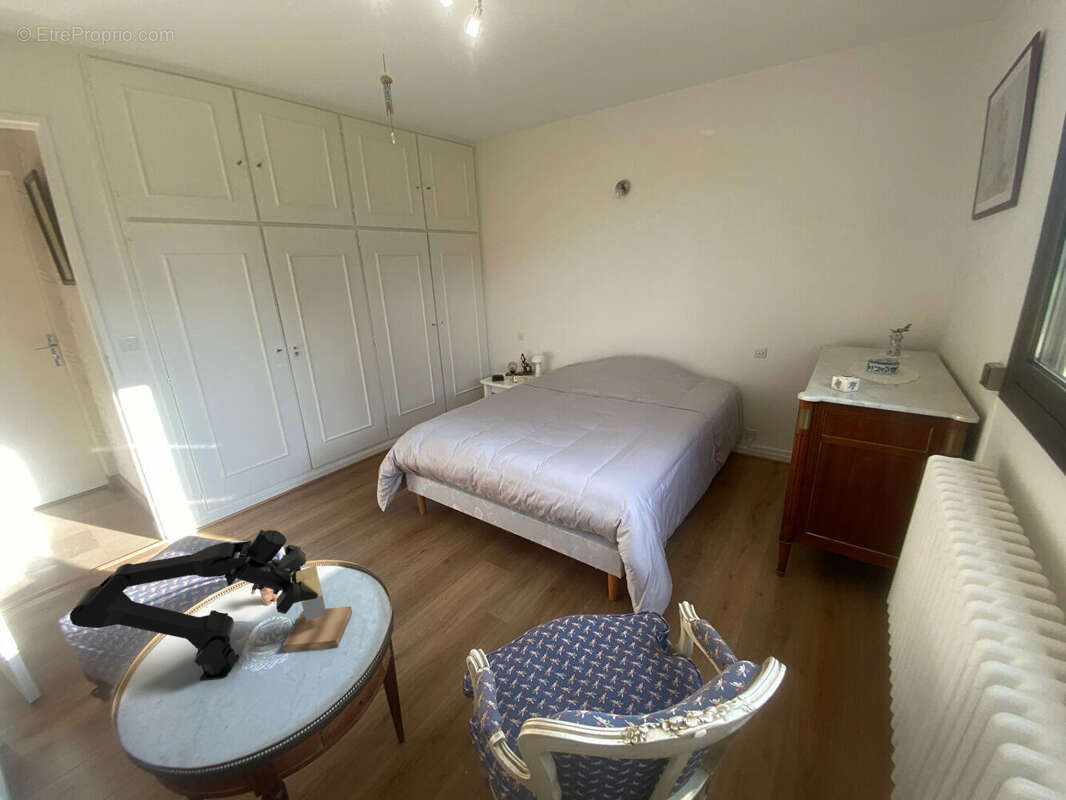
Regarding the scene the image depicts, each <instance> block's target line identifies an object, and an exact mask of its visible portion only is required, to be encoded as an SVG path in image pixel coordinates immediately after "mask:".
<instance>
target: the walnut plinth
mask: <svg viewBox="0 0 1066 800" xmlns="http://www.w3.org/2000/svg"><path fill="white" fill-rule="evenodd" d="M325 609H326V614H325V615H323V616H320V617H317V618H315V619H312V620H310V621H307V622H306V618H305V614H304V610H301V613H300V614H299V616H298V618H297V620H296V622H295V623H294V625H293V628H292V629H291V630H290V632H289V634H288V636H287V638H286V639H285V641H284V642H283V645H282V646H283V649H284V653H292V652H293V653H294V652H303V651H305V652H306V651H314V650H316V651H317V650H323V649H325V650H326V649H334V648H336V649H337V648H339V646H340V644H341V642H342V639H343V637H344V635H345V632H346V629H347V627H348V625H349V623H350V622H349V621H350V619H351V617H352V615H353V610H352V606H339V607H329V608H325Z"/></svg>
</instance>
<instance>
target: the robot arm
mask: <svg viewBox="0 0 1066 800" xmlns="http://www.w3.org/2000/svg"><path fill="white" fill-rule="evenodd" d="M286 543H287V538H286V537H285V535H284V534H283V533H281V532H280V531H278V530H274V529H273V530H272V529H268V530H264V529H260V530H259V531H258V533H257V534H256V536H255V537H254V538H253V540H245V541H239V542H238V541H237V542H229V541H228V542H227V541H226V542H221V543H215V544H213V545H210V546H206V547H205V548H203V549H201V550H198V551H197V552H194V553H191V554H186V555H179V556H173V557H167V558H161V559H156V560H149V561H143V562H138V563H124V564H121V565H120V566H119V567H117V568H116V570H115V571H114V572H113V573H111V574H110V575H109V576H107V577H106V578H105V579H104V580H103V581H102V582H101V583H100V584H99V585H98V586H94V587H92V588H90V589H88V590H86V591H85V593H84V594H83V595H82V597H81V598H80V599H79V600H78V602H77V603H76V605H75V606H74V607H73V609H72V610H71V612H70V614H69V620H70V621H71V624H72V625H74V627H75V626H76V627H79V628H90V629H101V628H106V627H111V626H123V627H128V628H134V629H138V630H142V631H147V632H151V633H157V634H161V635H166V636H170V637H171V636H172V637H176V638H179V639H185V640H187V641H188V642H189V643H191V645H192V646H193V647H194V648H195V649H197V652H196V655H195V657H194V661H193V662H194V663H195V664H196V665H197V666H199V667H201V670H202V672H203V673H202V674H201V675H200V677H199V680H200V681H206V680H207V681H208V680H214V679H215V680H217V679H224V678H227V677H228V675H229V673H230V672H231V671H232V669H233V668H234V666H235V665H236V663H237V661H238V660H239V658H240V654H237V653H235V649H234V648H232V645H231V643H230V642H231V638H232V635H233V631H234V627H235V620H234V618H233V617H232V616H230V615H229V612H220V611H217V610H215V609H214V610H210V611H209V614H207V615H202V616H196V615H192V614H188V613H187V614H186V613H182V612H179V611H176V610H175V611H174V610H171V609H167V608H162V607H158V606H154V605H150V604H145V603H142V602H141V603H140V602H137V601H135V600H132V599H131V598H130V597H129V596H128V595H127V594H126V593H125V592H124V591H125V590H126V589H127V588H130V587H135V586H140V585H146V584H151V583H157V582H163V581H168V580H172V579H179V578H183V577H189V576H197V577H202V578H218V577H224V578H225V579H226V583H227V584H226V585H227V586H228V587H230V586H232V584H233V583H234V582H235V581H236V580H239V581H242V582H246V583H249V584H253V585H254V584H255V585H257V589H256V590H259V591H260V590H262V588H263V587H265V588H269V589H272V590H273V594H276V595H277V594H278V595H279V597H278V598H277V599H276V601H275V603H276V604H275V605H276V606H275V607H276V611H277V613H280V614H283V615H286V614H287V613H288V612H289V610H290V609H291V608H292V606H293V605H294V604H296V603H300V602H301V601H306V600H311V599H316V598H317V597H318V594H316V593H315V592H313V591H310V590H308V589H306V588H304V587H303V586H302V582H301V581H300V582H299V583H298V584H297V582H296V572H297V571H300V570H302V567H303V566H304V565H305V564H306V563H307V557H306V556H307V554H306V553H304V551H303V550H302V549H301V548H302V547H301V546H298V545H292V544H288V545H287V546H285V545H286ZM284 546H285V547H284ZM283 547H284V552H285V554H283V555H282V558H280V559H275V557H276V556H277V555H278V553H279V552H280V551H281V550H282V548H283ZM279 592H281V593H280V594H279ZM301 603H302V602H301Z"/></svg>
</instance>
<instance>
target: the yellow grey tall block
mask: <svg viewBox="0 0 1066 800" xmlns="http://www.w3.org/2000/svg"><path fill="white" fill-rule="evenodd" d="M300 581H301V582H302V586H303V587H304V588H306V589H308V590H310V591H313V592H315V593H316V594H318V597H317V598H316V599H311V600H306V601H301V605H302V611H304V614H305V618H306V622H307V621H310V620H312V619H315V618H317V617H320V616H323V615H325V614H326V609H327V608H326V603H325V599H324V593H323V590H322V586H321V583H320V582H321V581H320V577H319V573H318V569H317V565H316V564H315V565H312V566H310V567H307V568H303V569H301V570H300V571H297V572H296V582H297V584H298V583H299V582H300Z"/></svg>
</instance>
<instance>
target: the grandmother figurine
mask: <svg viewBox="0 0 1066 800" xmlns="http://www.w3.org/2000/svg"><path fill="white" fill-rule="evenodd" d="M257 590H258V589H257V585H255V584H253V585H252V587H251V592H250V594H251V595H255V593H256V591H257ZM259 594H260V596H261V599H262V601H263V602H262V604H263V605H264V606H269V605H271V603H272V602H274V603H276V599H277V598H278V597H279V595H280V594H279V593H278V594H277V595H276V594H273V590H272V589H269V588H265V587H263V588H262V590H259ZM271 600H272V601H271Z"/></svg>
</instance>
